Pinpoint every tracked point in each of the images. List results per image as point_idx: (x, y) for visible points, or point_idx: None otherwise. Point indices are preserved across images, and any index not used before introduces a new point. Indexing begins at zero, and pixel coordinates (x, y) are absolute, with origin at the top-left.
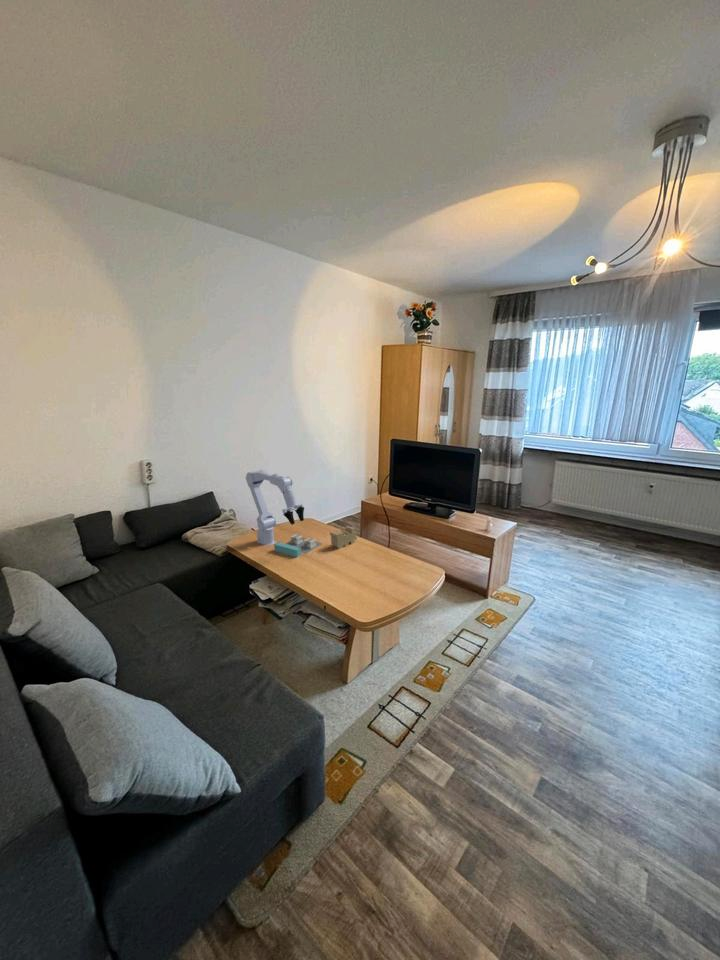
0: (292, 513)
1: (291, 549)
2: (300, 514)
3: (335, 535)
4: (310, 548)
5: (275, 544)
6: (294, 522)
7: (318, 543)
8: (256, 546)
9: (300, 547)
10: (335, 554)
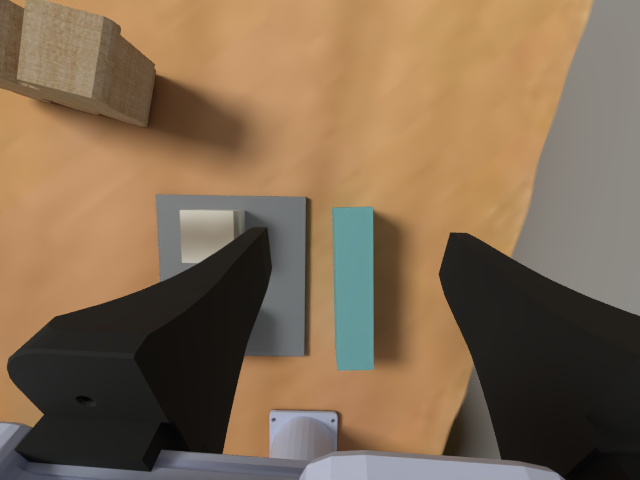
0: (594, 327)
1: (372, 246)
2: (235, 305)
3: (112, 32)
4: (244, 212)
5: (372, 361)
6: (461, 237)
7: (168, 215)
8: None
9: None
10: (218, 58)
